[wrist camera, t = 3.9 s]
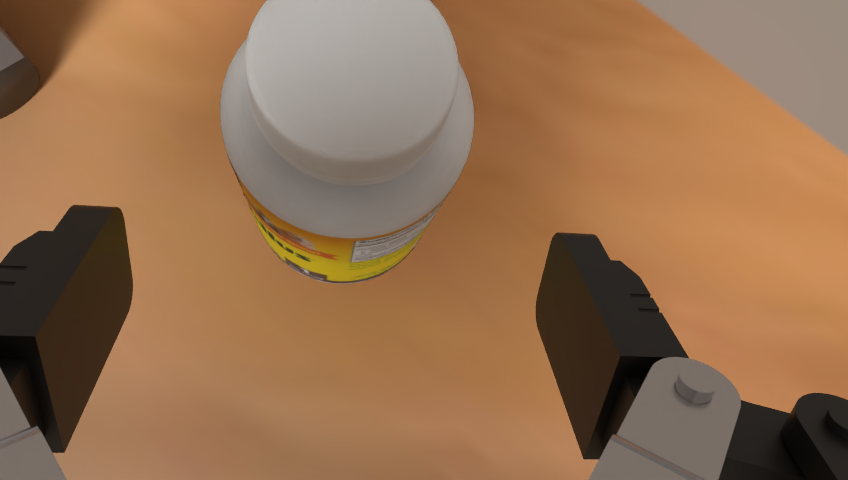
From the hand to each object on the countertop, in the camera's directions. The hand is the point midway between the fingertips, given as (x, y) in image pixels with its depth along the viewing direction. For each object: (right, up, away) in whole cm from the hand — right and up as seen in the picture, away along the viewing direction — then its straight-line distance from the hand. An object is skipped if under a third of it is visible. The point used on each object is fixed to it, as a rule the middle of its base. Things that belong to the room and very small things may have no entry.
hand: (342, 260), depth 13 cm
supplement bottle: (-1, +1, +10) cm, 10 cm away
